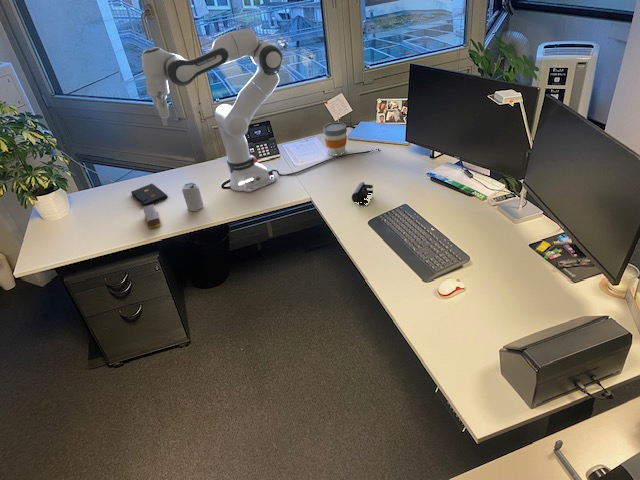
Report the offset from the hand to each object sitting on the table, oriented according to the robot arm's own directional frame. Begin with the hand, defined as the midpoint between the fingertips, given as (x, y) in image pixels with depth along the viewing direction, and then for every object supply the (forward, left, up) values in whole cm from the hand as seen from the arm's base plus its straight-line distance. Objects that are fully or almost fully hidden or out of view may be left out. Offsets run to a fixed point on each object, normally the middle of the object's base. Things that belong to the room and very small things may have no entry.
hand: (163, 121), depth 201 cm
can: (-2, +8, -41) cm, 42 cm away
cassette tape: (+16, -17, -41) cm, 47 cm away
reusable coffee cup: (-84, -6, -41) cm, 94 cm away
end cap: (-71, +46, -41) cm, 94 cm away
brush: (+18, +8, -41) cm, 45 cm away
